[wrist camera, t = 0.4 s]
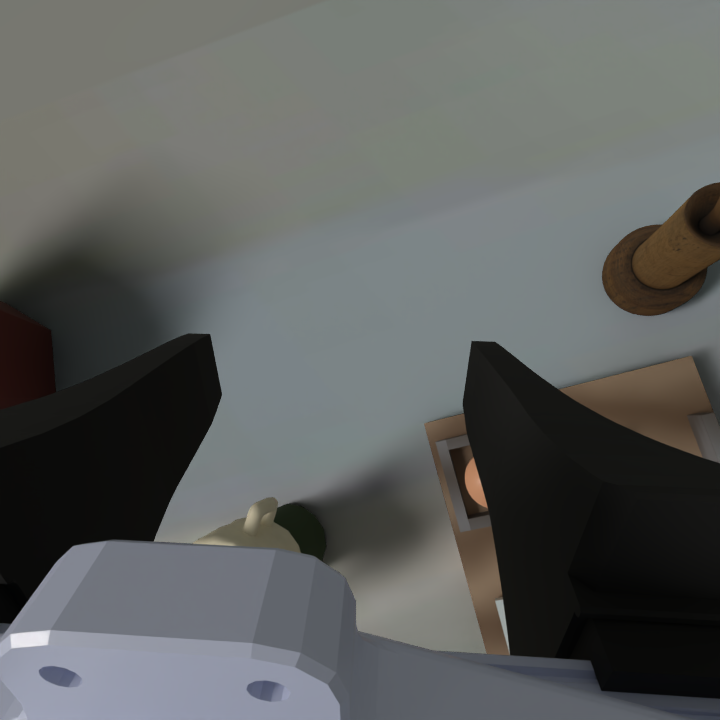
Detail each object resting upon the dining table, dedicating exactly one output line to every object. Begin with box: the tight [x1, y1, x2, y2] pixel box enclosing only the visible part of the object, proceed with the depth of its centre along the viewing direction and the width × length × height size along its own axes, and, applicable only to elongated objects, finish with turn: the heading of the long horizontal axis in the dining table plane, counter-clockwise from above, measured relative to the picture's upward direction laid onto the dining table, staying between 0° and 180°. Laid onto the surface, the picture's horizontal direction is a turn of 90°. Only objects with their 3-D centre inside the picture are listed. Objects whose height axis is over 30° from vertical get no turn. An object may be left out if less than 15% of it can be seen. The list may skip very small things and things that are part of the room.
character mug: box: [192, 497, 326, 561], centre depth 33 cm, size 11×7×13 cm, turn 162°
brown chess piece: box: [602, 182, 720, 316], centre depth 26 cm, size 7×6×18 cm
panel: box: [424, 356, 720, 655], centre depth 32 cm, size 19×20×4 cm
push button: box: [465, 457, 488, 508], centre depth 32 cm, size 4×4×2 cm
